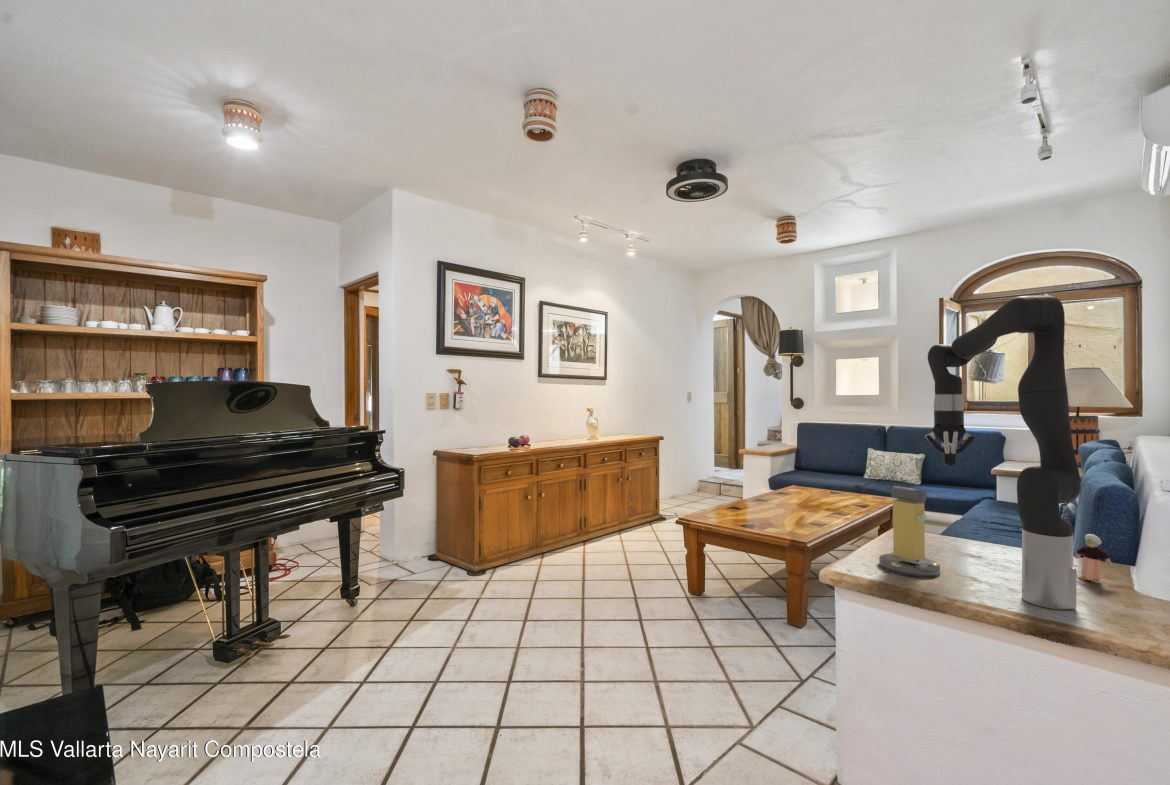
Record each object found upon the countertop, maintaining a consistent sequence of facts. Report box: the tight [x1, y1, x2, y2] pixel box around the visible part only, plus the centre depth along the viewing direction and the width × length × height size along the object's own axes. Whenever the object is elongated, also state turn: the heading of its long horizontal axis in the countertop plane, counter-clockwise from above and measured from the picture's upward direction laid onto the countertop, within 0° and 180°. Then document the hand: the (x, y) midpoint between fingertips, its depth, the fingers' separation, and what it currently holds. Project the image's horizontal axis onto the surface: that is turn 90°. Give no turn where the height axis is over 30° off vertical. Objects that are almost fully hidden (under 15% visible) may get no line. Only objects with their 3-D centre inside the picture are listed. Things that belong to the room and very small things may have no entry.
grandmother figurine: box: [1073, 533, 1113, 584], centre depth 143 cm, size 8×4×13 cm, turn 37°
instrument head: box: [890, 485, 928, 562], centre depth 153 cm, size 5×8×21 cm, turn 29°
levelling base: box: [878, 551, 941, 579], centre depth 153 cm, size 15×15×2 cm
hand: (949, 465), depth 162 cm, fingers closed
